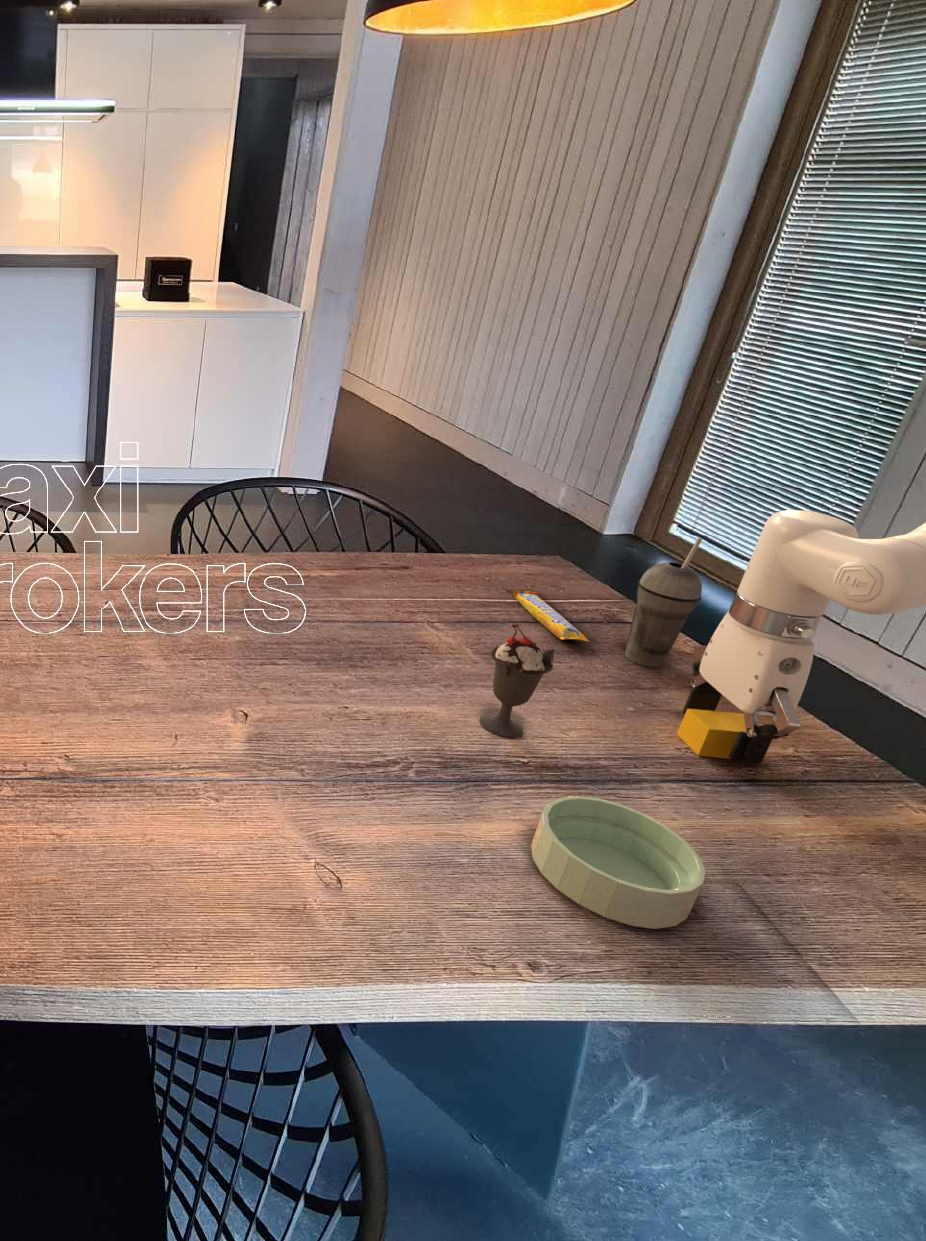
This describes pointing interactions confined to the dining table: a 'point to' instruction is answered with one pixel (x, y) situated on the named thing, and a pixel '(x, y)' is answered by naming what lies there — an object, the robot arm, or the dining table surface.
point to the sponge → (711, 731)
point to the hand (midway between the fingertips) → (719, 737)
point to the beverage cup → (662, 610)
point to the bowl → (617, 862)
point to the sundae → (515, 681)
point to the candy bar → (548, 616)
